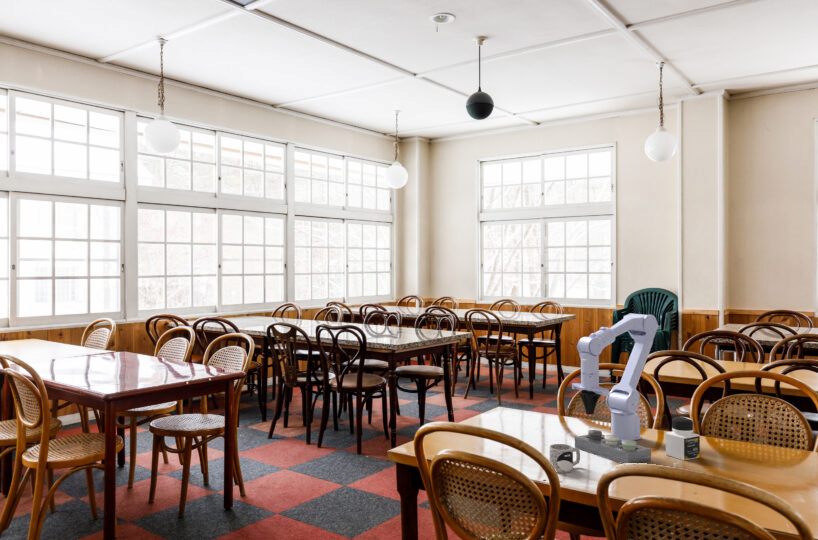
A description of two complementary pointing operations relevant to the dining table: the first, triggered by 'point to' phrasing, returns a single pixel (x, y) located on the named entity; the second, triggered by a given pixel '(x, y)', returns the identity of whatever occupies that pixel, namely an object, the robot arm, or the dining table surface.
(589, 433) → the grey rounded knob
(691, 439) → the medicine bottle
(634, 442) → the sage key
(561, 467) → the mug
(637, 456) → the key console
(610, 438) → the ivory key
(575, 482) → the dining table surface
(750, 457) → the dining table surface
